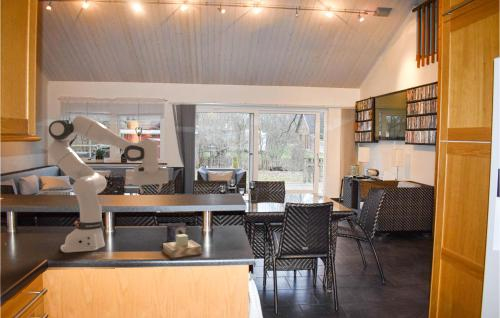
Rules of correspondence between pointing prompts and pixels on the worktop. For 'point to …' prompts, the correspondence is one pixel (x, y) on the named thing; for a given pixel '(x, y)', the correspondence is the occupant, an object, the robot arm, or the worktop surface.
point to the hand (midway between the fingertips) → (150, 192)
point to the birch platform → (181, 249)
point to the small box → (175, 231)
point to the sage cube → (182, 240)
